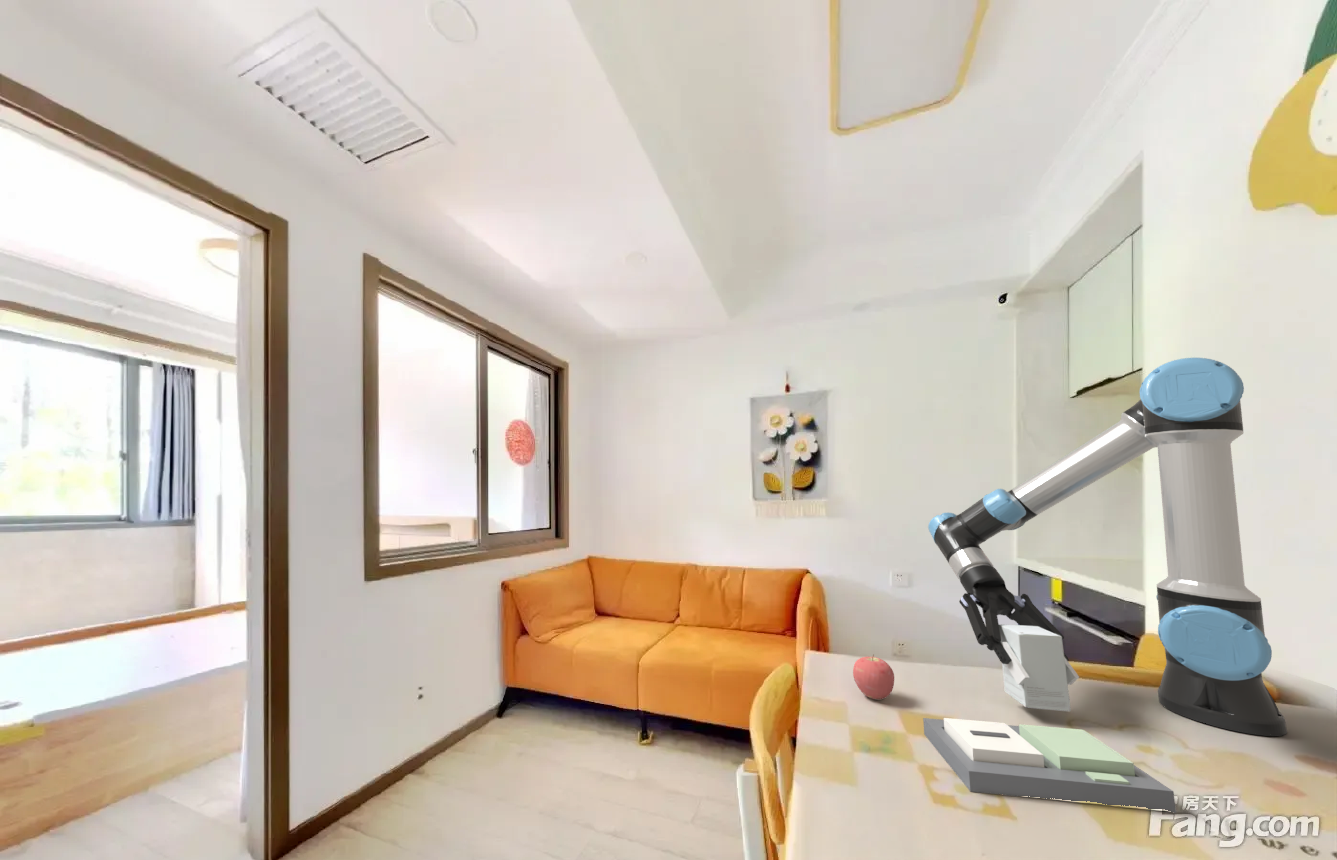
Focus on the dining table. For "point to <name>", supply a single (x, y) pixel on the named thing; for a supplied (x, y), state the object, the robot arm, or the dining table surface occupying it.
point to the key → (1076, 750)
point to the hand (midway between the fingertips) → (1048, 681)
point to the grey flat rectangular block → (1032, 768)
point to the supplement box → (1037, 667)
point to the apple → (873, 677)
